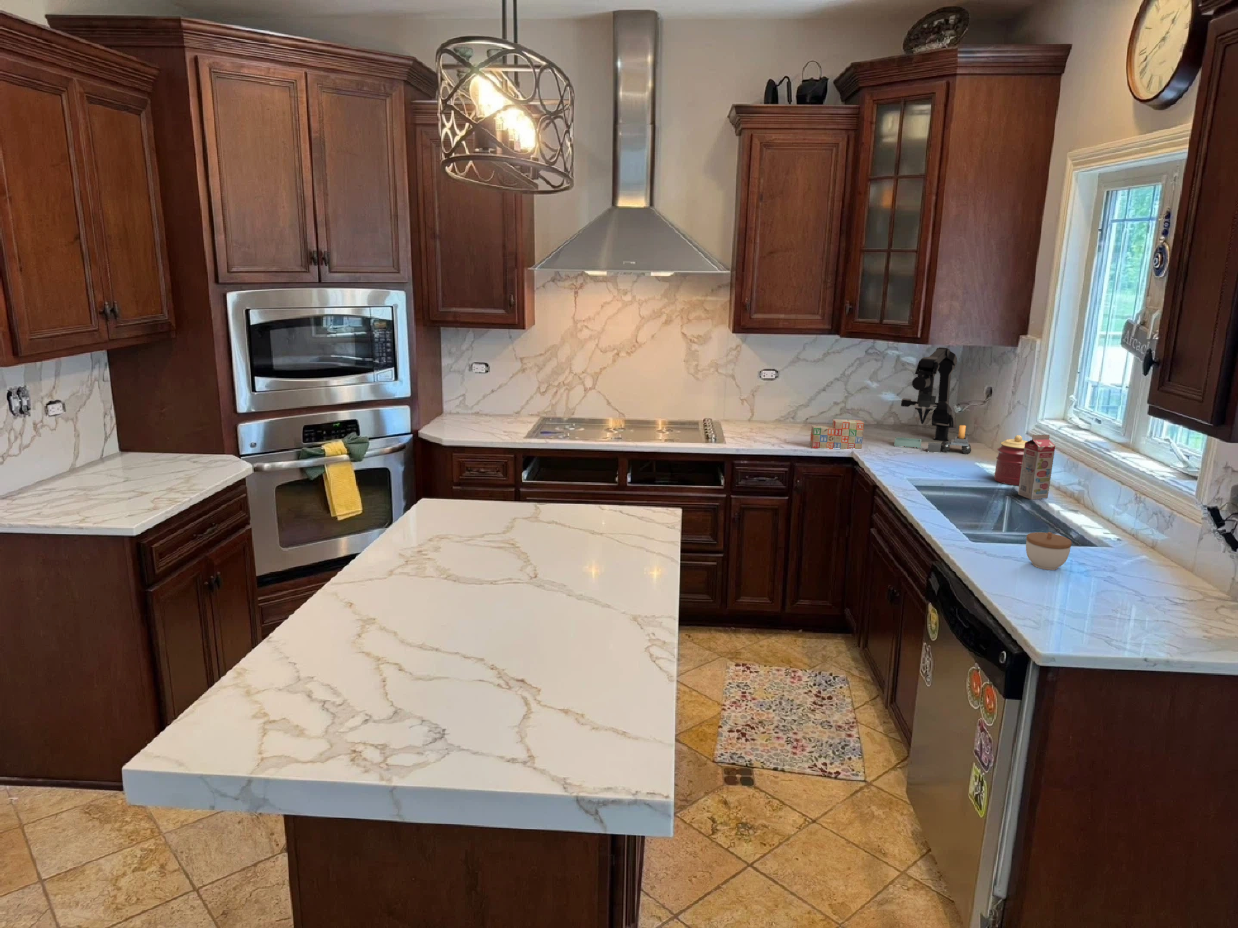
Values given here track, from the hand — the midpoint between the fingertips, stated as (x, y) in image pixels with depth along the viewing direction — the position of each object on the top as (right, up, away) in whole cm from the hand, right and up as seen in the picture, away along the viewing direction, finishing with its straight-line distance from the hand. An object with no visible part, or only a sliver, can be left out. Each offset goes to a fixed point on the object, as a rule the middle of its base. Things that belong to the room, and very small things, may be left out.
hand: (922, 423), depth 356 cm
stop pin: (+17, -8, 0) cm, 18 cm away
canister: (+16, -24, -48) cm, 56 cm away
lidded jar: (-17, -45, -135) cm, 144 cm away
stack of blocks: (-36, -11, +5) cm, 38 cm away
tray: (-3, -9, +10) cm, 14 cm away
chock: (+5, -12, +1) cm, 13 cm away
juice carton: (+14, -29, -67) cm, 75 cm away
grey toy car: (+15, -12, +1) cm, 19 cm away
